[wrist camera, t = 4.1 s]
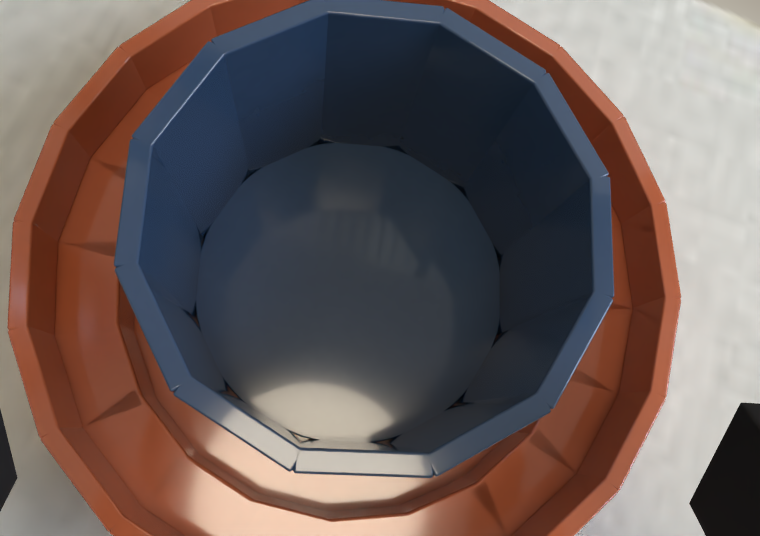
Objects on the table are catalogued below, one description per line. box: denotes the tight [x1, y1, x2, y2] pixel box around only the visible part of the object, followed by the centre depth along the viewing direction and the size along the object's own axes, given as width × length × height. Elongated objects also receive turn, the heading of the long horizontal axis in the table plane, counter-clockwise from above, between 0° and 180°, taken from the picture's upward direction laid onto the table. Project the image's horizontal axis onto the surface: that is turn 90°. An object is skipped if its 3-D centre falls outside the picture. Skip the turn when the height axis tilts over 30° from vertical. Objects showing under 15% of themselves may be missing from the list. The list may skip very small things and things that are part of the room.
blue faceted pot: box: [114, 0, 614, 478], centre depth 19 cm, size 11×11×8 cm
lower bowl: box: [7, 0, 681, 536], centre depth 21 cm, size 18×18×4 cm
